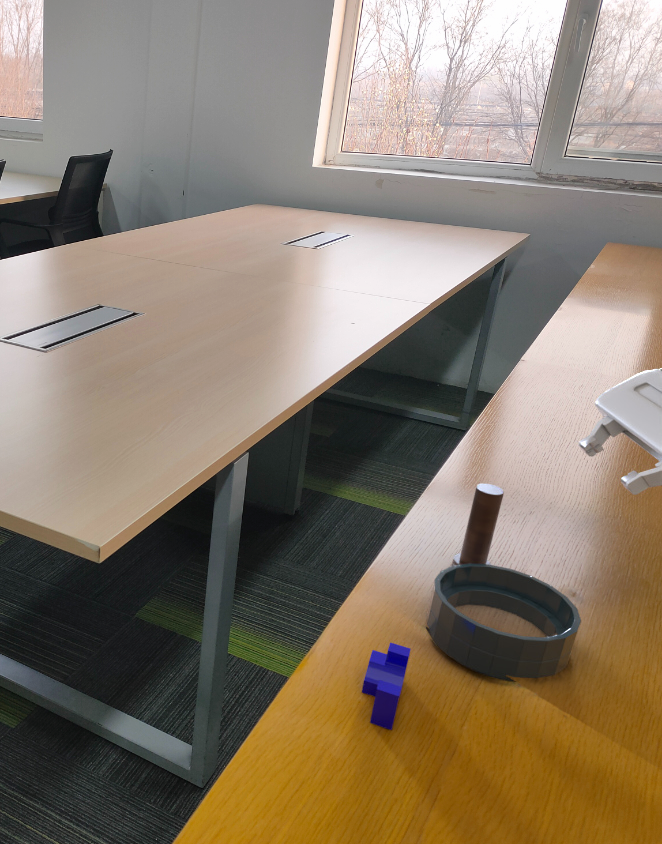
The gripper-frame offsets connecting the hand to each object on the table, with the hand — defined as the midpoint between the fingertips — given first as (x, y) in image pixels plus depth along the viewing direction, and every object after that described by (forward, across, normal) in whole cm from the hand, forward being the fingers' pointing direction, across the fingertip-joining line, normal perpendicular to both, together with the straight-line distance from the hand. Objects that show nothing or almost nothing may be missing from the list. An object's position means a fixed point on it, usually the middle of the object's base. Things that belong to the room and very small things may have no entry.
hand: (603, 468), depth 92 cm
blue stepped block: (+32, +22, -8) cm, 39 cm away
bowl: (+21, +12, +3) cm, 24 cm away
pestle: (+20, -1, +4) cm, 21 cm away
